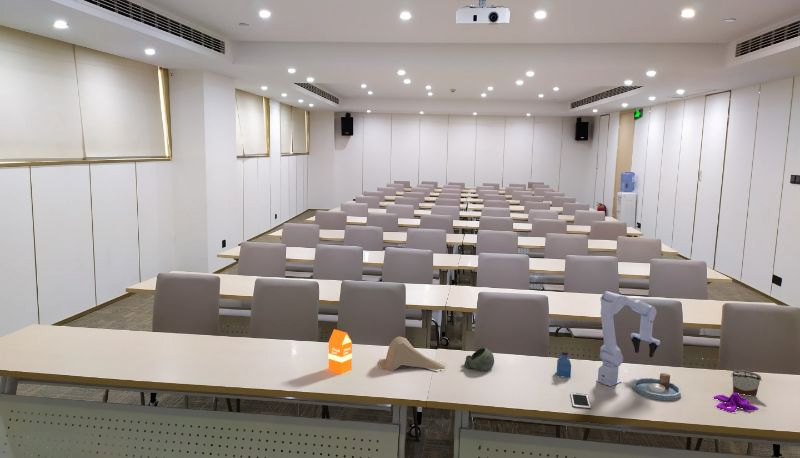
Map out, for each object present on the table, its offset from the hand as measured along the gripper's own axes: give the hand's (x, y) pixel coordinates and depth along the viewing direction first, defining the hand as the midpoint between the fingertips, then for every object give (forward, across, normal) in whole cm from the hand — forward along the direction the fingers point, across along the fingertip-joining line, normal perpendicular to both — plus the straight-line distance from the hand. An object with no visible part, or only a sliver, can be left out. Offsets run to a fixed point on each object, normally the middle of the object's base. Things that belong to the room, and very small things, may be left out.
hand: (643, 354), depth 286 cm
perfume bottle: (+11, +22, +34) cm, 42 cm away
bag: (+11, +73, +90) cm, 116 cm away
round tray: (+10, -15, +13) cm, 22 cm away
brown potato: (+10, -15, +6) cm, 19 cm away
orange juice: (+11, +88, +124) cm, 152 cm away
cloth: (+11, -44, -3) cm, 46 cm away
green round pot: (+11, +52, +63) cm, 82 cm away
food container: (+11, -39, -20) cm, 45 cm away
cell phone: (+11, -2, +53) cm, 54 cm away
